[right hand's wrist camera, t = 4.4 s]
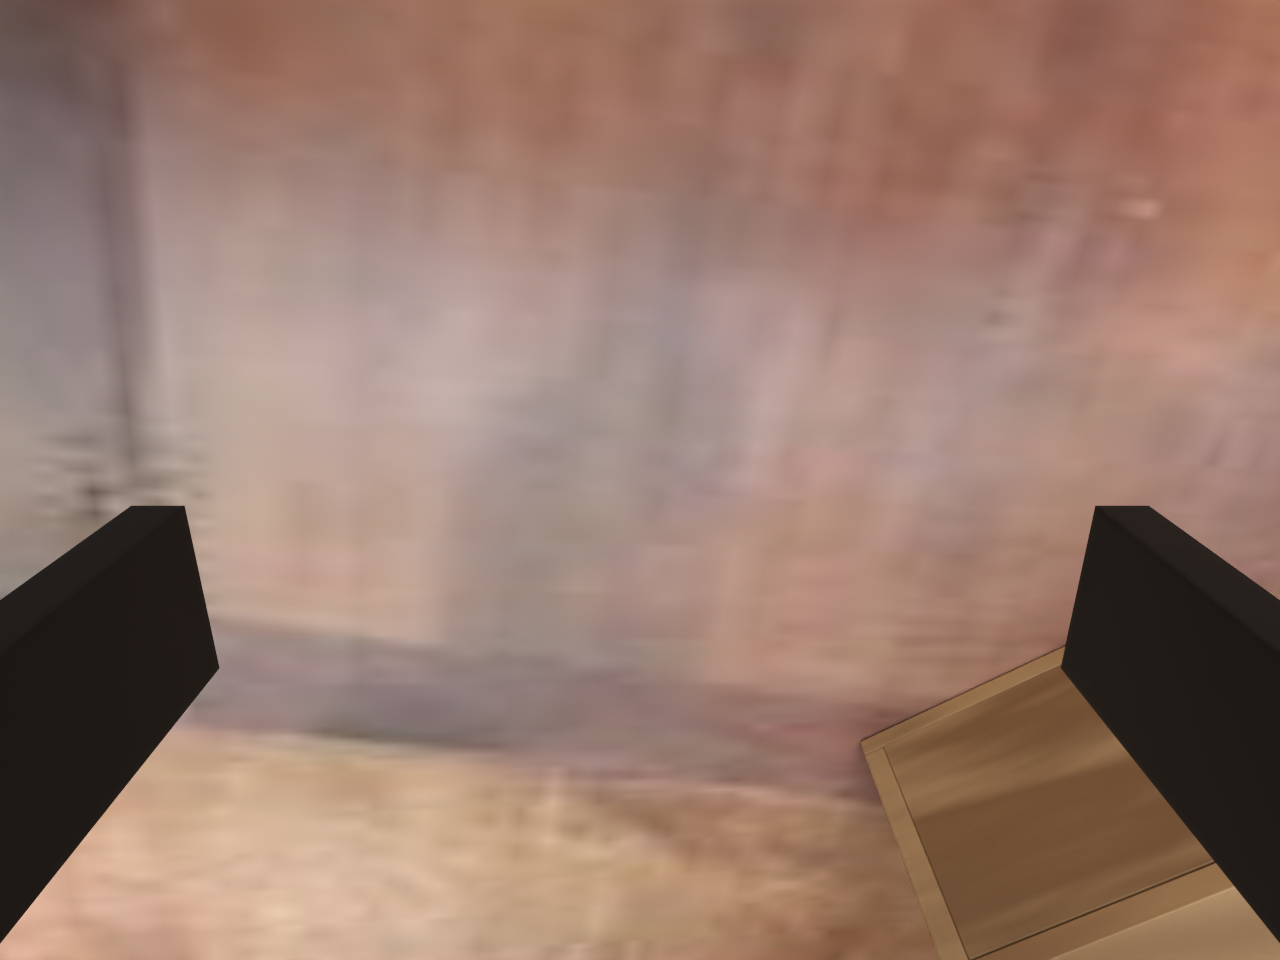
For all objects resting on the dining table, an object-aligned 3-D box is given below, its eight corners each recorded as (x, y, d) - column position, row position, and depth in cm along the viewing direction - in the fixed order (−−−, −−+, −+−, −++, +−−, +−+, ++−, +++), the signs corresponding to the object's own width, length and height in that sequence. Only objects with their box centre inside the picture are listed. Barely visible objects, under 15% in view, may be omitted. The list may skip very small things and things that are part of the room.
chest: (1228, 911, 38) (1425, 1168, 28) (1017, 993, 40) (1135, 1260, 30) (1096, 630, 32) (1283, 832, 23) (859, 741, 34) (942, 969, 25)
